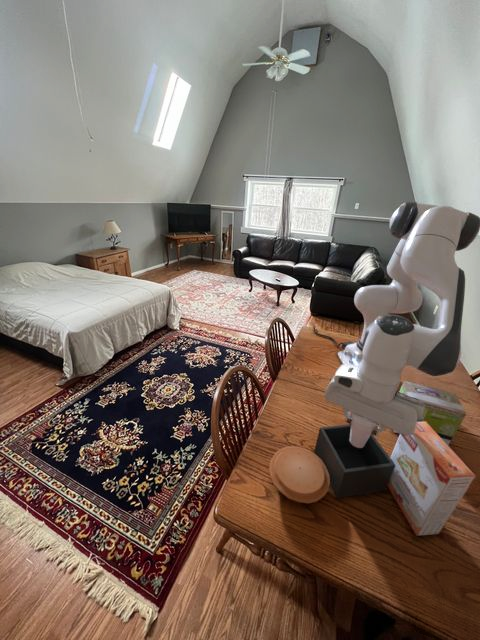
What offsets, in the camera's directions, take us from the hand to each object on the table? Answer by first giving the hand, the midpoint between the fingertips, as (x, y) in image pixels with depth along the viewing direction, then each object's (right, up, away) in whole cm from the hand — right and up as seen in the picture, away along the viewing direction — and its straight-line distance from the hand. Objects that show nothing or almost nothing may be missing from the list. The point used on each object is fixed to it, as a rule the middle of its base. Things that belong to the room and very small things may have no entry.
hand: (361, 427), depth 68 cm
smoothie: (0, -5, +2) cm, 5 cm away
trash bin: (-1, -15, +7) cm, 16 cm away
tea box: (+28, -9, +21) cm, 36 cm away
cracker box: (+11, -19, -1) cm, 22 cm away
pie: (-15, -16, +4) cm, 22 cm away
